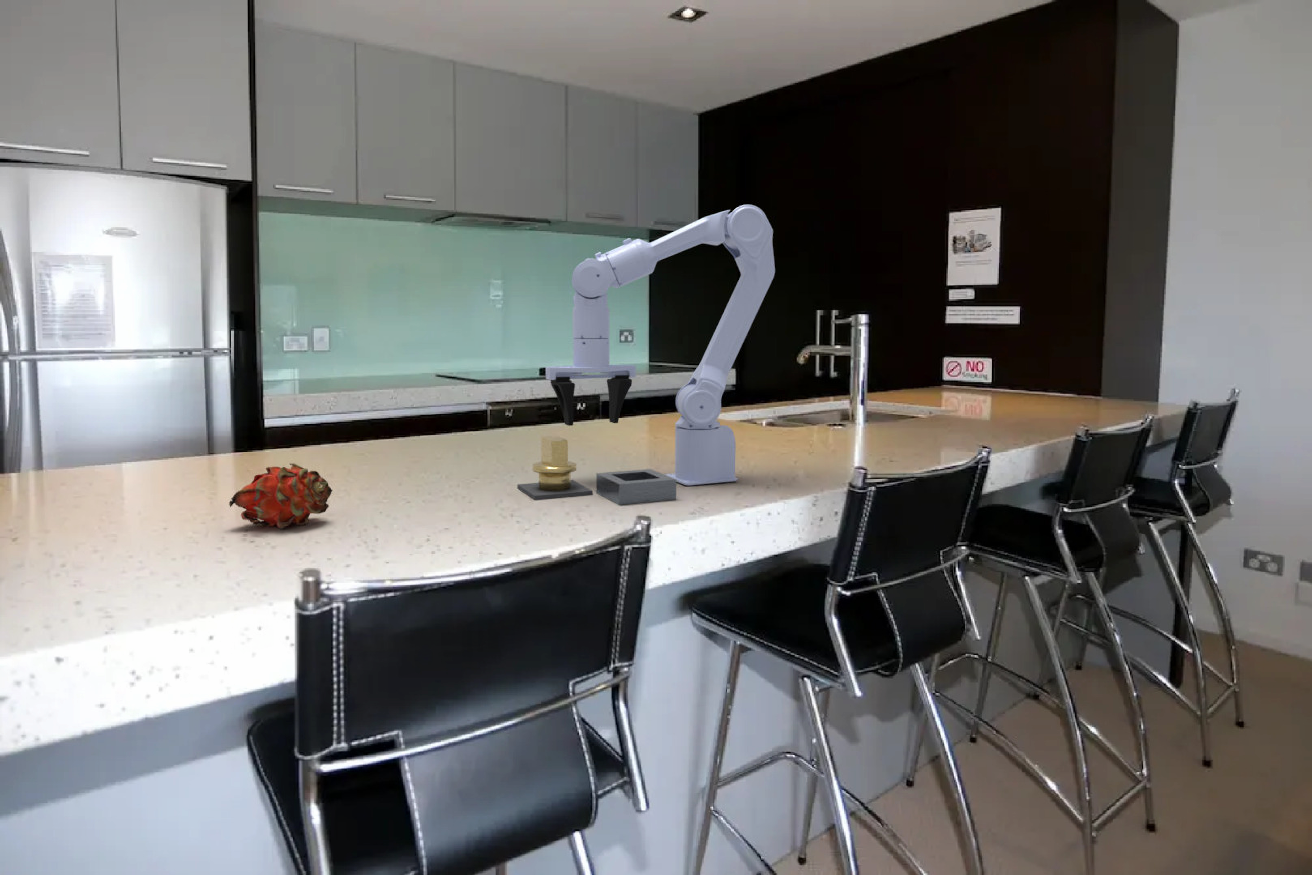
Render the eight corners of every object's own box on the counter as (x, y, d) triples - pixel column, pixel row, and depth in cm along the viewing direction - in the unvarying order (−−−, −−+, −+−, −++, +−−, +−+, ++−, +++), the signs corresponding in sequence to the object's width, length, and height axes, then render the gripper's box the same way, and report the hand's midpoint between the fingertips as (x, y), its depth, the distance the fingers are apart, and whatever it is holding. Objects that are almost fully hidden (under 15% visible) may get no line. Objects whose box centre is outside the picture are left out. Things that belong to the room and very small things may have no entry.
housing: (650, 487, 132) (650, 468, 131) (676, 499, 123) (676, 479, 123) (596, 492, 128) (596, 473, 127) (619, 505, 120) (619, 484, 119)
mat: (572, 483, 134) (572, 479, 134) (592, 494, 126) (592, 490, 126) (517, 488, 131) (517, 484, 131) (534, 499, 123) (534, 495, 123)
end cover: (568, 482, 133) (567, 434, 131) (582, 490, 127) (582, 440, 126) (527, 485, 130) (526, 436, 129) (540, 493, 124) (539, 442, 123)
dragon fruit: (341, 534, 109) (241, 556, 105) (334, 486, 115) (238, 505, 111) (330, 491, 103) (223, 512, 99) (323, 443, 109) (221, 461, 105)
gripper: (623, 337, 140) (623, 418, 142) (539, 337, 134) (540, 422, 136) (641, 338, 133) (640, 423, 135) (553, 339, 127) (554, 428, 129)
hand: (591, 423), depth 135 cm, fingers open, 7 cm apart
